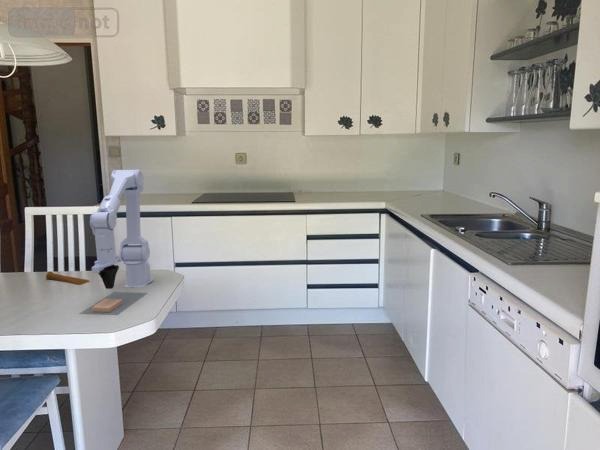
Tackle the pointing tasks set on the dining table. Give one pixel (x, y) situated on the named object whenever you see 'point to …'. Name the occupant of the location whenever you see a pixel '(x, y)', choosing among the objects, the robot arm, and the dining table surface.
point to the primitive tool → (65, 278)
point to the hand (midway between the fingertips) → (109, 288)
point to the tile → (107, 305)
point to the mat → (127, 301)
